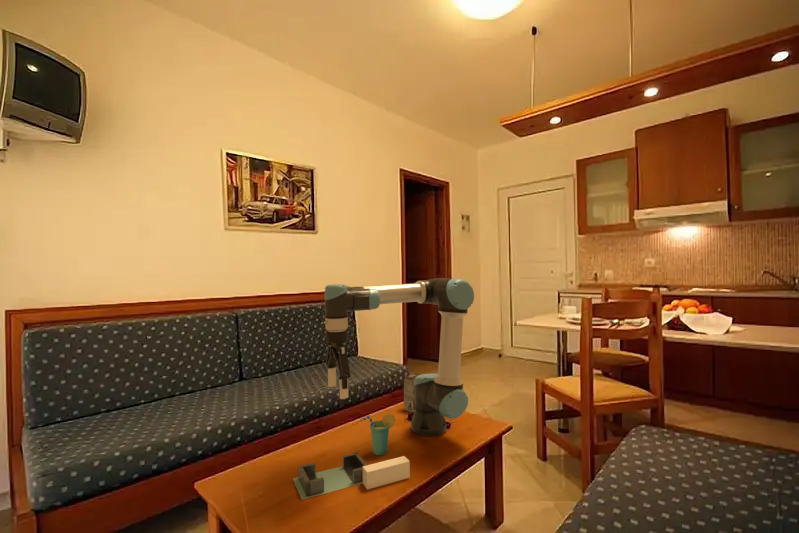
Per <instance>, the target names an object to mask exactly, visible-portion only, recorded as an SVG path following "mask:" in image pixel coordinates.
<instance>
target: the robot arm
mask: <svg viewBox="0 0 799 533" xmlns="http://www.w3.org/2000/svg"><path fill="white" fill-rule="evenodd" d="M474 301H475V292H474V289H473V285H471V284H470V283H469V281H467V280H465V279H463V278H462V279H461V278H454V277H453V278H451V277H450V278H449V277H448V278H447V277H438V278H432V279H426V280H425V279H424V280H417V281H416V282H413V283H401V284H399V283H398V284H383V285H382V284H381V285H380V284H379V285H365V286H363V285H362V286H349V285H348V286H347V284H338V283H337V284H336V283H335V284H328V285H326V286H325V288H324V314H325V316H324V317H325V318H324V319H325V321H323V324H324V325H325V330H326V331H325V333H324V334H325V335H324V336H325V342H326V343H327V351H326V357H325V358H326V361H325V364H326V366H327V384H328V385H327V386H328V388H333V387H337V379H338V380H339V399H340V400H344V399H348V398H349V379H350V378H351V377H352V376H351V370H350V365H349V357H348V350H347V349H348V348H347V347H346V346H344V343H346V342H347V341H349V331H348V328H349V316H348V312H356V311H371V310H377V309H378V308H379V307H380V305H386V304H402V303H412V302H413V303H414V302H417V304H420V305H421V304H431V305H436V306H437V312H438V313H439V315H440V316H441V322H440V334H439V336H440V337H439V354H438V356H439V357H438V368H437V370H438V372H437V373H423V374H421V375H418V376H417V377H416V378H415V384H414V386H415V412H414V413H413V415H412V419H411V422H410V430H411V431H412V432H413V434H416V435H419V436H422V437H423V436H424V437H436V436H441V435H443V434H444V433H445V432H446V431H447V422H446V419H445V418H448V419H457V418H459V417H461V416H462V415H463V413H465V412H466V410H467V408H468V404H469V397H468V394H467V393H466V391H465V390H464V381H463V380H462V378H461V377H460V376H461V361H462V360H461V359H462V347H463V346H462V344H463V327H464V326H463V325H464V317H466V315H467V314H468V310H469V308H470V307H472V305H473V303H474ZM337 368H338V372H339V377H338V378H337Z"/></svg>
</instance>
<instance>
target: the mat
mask: <svg viewBox="0 0 799 533" xmlns="http://www.w3.org/2000/svg"><path fill="white" fill-rule="evenodd" d="M316 476H317V478H322V477H323V478H324V492H322V493H319V494H315V495H311V496H308V497H307V496H306V494H305V492H304V490H303V488H302V485H301V483H300V481H299V479H298V476H297V477H294V478H292V481H293V483H294V486H295V488H296V490H297V492H298V494H299V497H300V499H301V501H303V500H306V499H309V498H313V497H317V496H321V495H324V494H329V493H332V492H335V491H340V490H342V489H343V490H344V489H348V488H350V487H354V486H357V485H361V484H363V482H359V483H355V484H354V483H353V482H352V480H351V479H350V477H349V476H348V474H347V473H346V472H345V470H344V469H343V465H342V466H339V467H338V466H337V467H335V468H330V469H326V470H322V471H318V472H316Z"/></svg>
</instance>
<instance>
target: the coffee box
mask: <svg viewBox="0 0 799 533" xmlns="http://www.w3.org/2000/svg"><path fill="white" fill-rule="evenodd" d="M418 375H422V374H420V373H416V372H415V373H413V374H410V375H406V376H403V411H407V412H409V413H413V412H415V386H414V384H415V378H416V377H417V376H418Z"/></svg>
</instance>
